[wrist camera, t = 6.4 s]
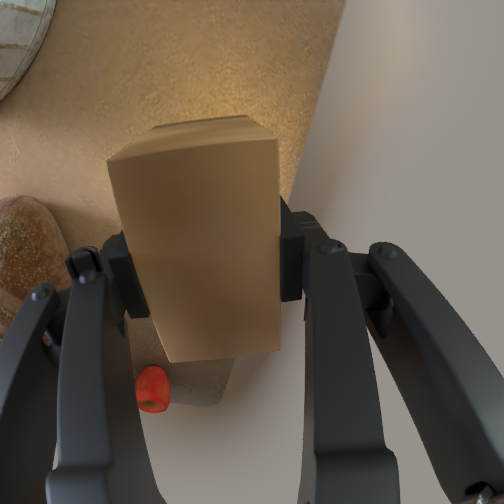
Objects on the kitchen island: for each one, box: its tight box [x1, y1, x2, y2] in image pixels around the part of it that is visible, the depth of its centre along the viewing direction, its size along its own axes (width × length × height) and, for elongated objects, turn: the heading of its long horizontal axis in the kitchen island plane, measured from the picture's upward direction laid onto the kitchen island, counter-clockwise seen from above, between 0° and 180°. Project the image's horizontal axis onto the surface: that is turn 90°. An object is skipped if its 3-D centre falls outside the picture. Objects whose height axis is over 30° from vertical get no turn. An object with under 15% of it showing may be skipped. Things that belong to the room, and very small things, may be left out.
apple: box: [134, 366, 170, 413], centre depth 41 cm, size 6×6×8 cm
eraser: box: [107, 115, 281, 363], centre depth 13 cm, size 5×9×8 cm, turn 3°
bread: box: [0, 195, 73, 345], centre depth 28 cm, size 16×29×11 cm, turn 162°
